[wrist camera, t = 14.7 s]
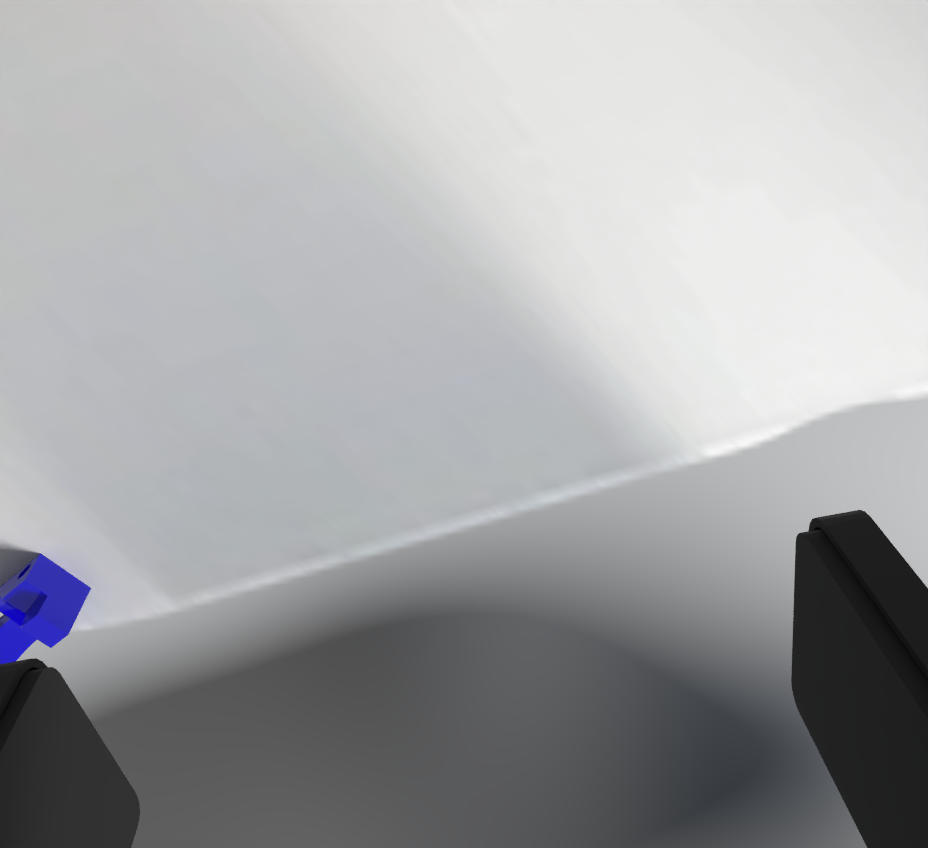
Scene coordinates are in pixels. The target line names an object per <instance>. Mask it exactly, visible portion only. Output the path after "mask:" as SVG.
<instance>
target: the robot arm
mask: <svg viewBox="0 0 928 848" xmlns="http://www.w3.org/2000/svg"><path fill="white" fill-rule="evenodd" d="M794 588H795V589H794V618H793V620H794V621H793V649H792V691H793V695H794V699H795V702H796V705H797V708H798V710H799V713H800V715H801V717H802V719H803V721H804V723H805V725H806V727H807V729H808V731H809V733H810V735H811V737H812V739H813V741H814V743H815V745H816V746H817V749H818V750H819V753H820V755H821V756H822V759H823V760H824V762H825V765H826V766H827V769H828V771H829V772H830V774H831V776H832V778H833V780H834V782H835V784H836V786H837V788H838V790H839V792H840V794H841V796H842V798H843V800H844V802H845V804H846V806H847V808H848V810H849V812H850V814H851V816H852V818H853V820H854V822H855V824H856V826H857V828H858V830H859V832H860V834H861V836H862V838H863V840H864V842H865V844H866V846H867V848H928V588H927V587H926V586H925V585H924V583H923V582H922V581H921V579H920V578H919V577H918V576H917V575H916V573H915V572H914V571H913V569H912V568H911V567H910V566H909V564H908V563H907V562H906V561H905V559H904V558H903V557H902V556H901V555H900V553H899V552H898V551H897V549H896V548H895V547H894V546H893V544H892V543H891V542H890V541H889V539H888V538H887V537H886V536H885V535H884V533H883V532H882V531H881V530H880V528H879V527H878V526H877V524H876V523H875V522H874V521H873V520H872V518H871V517H870V516H869V515H868V514H867V513H866V512H864V511H862V510H857V511H852V512H847V513H841V514H835V515H829V516H824V517H818V518H814V519H812V521H811V522H810V526H809V532H803V533H799V534H798V535H797V538H796V556H795V587H794ZM139 815H140V809H139V801H138V797H137V795H136V793H135V791H134V790H133V788H132V786H131V785H130V784H129V782H128V780H127V778H126V777H125V775H124V774H123V772H122V771H121V769H120V767H119V766H118V764H117V763H116V761H115V760H114V758H113V756H112V755H111V753H110V752H109V750H108V748H107V747H106V746H105V744H104V742H103V741H102V739H101V737H100V736H99V734H98V733H97V731H96V730H95V728H94V726H93V725H92V723H91V722H90V720H89V719H88V717H87V715H86V714H85V712H84V711H83V709H82V708H81V706H80V704H79V703H78V701H77V700H76V698H75V696H74V695H73V693H72V692H71V690H70V689H69V687H68V685H67V684H66V682H65V681H64V679H63V678H62V676H61V674H60V673H59V672H58V671H57V670H56V669H54V668H52V667H51V668H48V667H47V666H46V665H45V664H44V663H43V662H42V661H40V660H38V659H27V660H22V661H16V662H10V663H5V664H0V848H131V846H132V843H133V839H134V836H135V833H136V830H137V826H138V822H139Z"/></svg>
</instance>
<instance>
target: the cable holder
mask: <svg viewBox="0 0 928 848" xmlns="http://www.w3.org/2000/svg"><path fill="white" fill-rule="evenodd" d="M90 589H91V588H90V587H88V586H87V585H86V584H84V583H83V582H81V581H80V580H78V579H77V578H75V577H74V576H73V575H71V574H70V573H68V572H67V571H65V570H64V569H62V568H61V567H60V566H58V565H57V564H55V563H54V562H52V561H51V560H49V559H48V558H46V557H45V556H44V555H42V554H39V555H38V556H37V557H36V558H35V559H33V560H32V561H31V562H30V563H29V564H27V565H26V566H25V567H24V568H22V569H21V570H20V571H19V572H18V573H16V574H15V575H14V576H13V577H11V578H10V579H9V580H8V581H7V582H5V583H4V584H3V585H2V586H0V612H1V613H3V614H4V615H3V616H1V617H0V664H5V663H10V662H16V660H17V659H18V658H19V657H20V656H21V655H22V654H23V653H24V651H25V650H26V649H27V648H28V647H29V646H30V645H31V644H32V643H34V642H35V641H36V640H37V639H38V640H39V641H41V642H42V643H44V644H45V645H47V646H49V647H50V648H51V647H53V646H54V645H55V644H56V643H58V642H59V641H61V640H62V639H63V638H64V637H66V636H67V635H68V634H69V632H70V630H71V628H72V626H73V624H74V622H75V620H76V618H77V616H78V614H79V612H80V610H81V607H82V605H83V603H84V601H85V599H86V597H87V595H88V593H89V591H90Z"/></svg>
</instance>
